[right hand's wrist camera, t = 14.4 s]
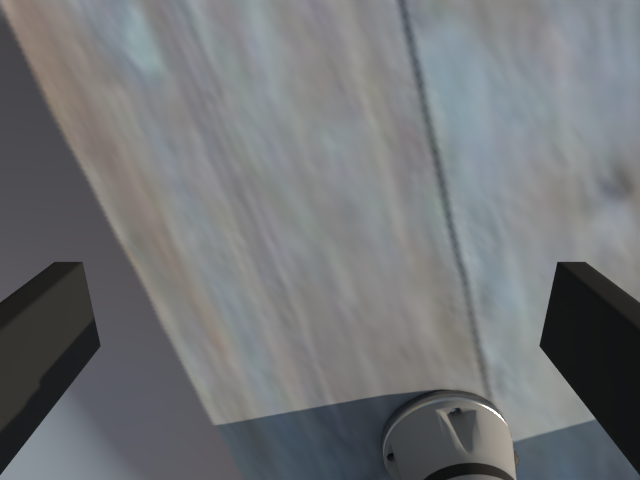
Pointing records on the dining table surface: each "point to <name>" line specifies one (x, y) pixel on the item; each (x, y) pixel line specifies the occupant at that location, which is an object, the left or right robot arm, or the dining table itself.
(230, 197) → the dining table surface
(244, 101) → the dining table surface
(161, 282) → the dining table surface
